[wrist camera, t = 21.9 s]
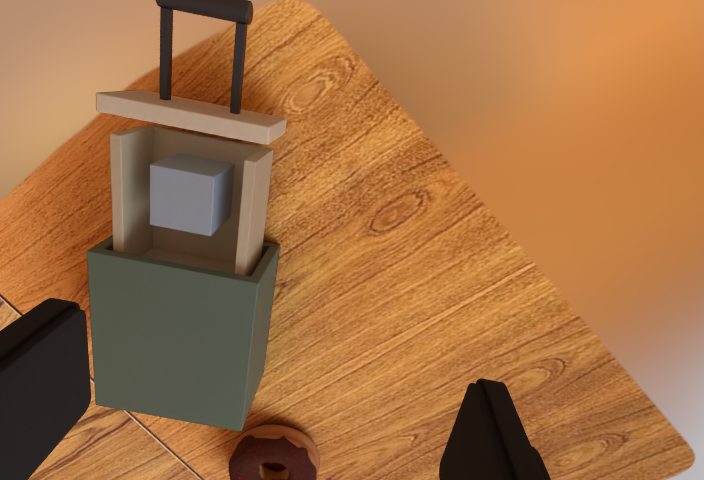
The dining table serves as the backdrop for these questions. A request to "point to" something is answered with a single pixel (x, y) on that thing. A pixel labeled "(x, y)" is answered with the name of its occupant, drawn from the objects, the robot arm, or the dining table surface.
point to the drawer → (159, 143)
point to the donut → (274, 454)
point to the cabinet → (178, 335)
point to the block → (191, 193)
